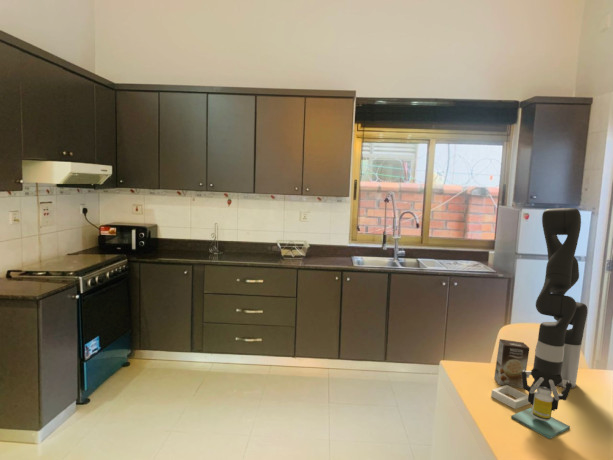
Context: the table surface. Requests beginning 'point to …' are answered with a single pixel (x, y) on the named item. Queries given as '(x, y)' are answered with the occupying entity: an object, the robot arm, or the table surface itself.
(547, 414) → the supplement bottle
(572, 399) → the table surface
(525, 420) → the teal board
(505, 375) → the coffee box
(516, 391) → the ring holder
